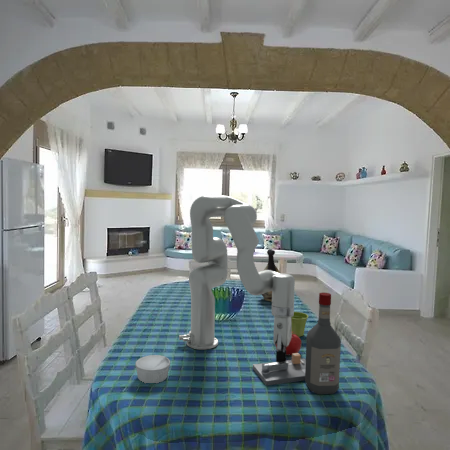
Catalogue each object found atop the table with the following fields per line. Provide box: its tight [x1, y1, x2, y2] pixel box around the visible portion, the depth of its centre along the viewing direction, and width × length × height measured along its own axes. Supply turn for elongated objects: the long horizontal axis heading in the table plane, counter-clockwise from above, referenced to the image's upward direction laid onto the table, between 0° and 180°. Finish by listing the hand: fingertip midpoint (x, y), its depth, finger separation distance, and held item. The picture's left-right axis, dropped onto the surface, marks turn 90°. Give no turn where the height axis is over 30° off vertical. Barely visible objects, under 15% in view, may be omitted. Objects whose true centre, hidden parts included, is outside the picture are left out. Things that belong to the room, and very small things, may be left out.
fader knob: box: [291, 352, 302, 364], centre depth 131 cm, size 2×2×3 cm
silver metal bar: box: [262, 360, 288, 373], centre depth 125 cm, size 9×2×2 cm, turn 107°
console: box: [252, 357, 306, 387], centre depth 127 cm, size 20×12×2 cm, turn 107°
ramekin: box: [135, 354, 171, 384], centre depth 123 cm, size 11×11×5 cm
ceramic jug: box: [261, 248, 282, 302], centre depth 216 cm, size 17×15×30 cm
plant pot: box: [291, 311, 309, 338], centre depth 163 cm, size 9×9×9 cm
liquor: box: [304, 292, 342, 395], centre depth 117 cm, size 9×9×30 cm
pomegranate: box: [274, 332, 302, 356], centre depth 144 cm, size 10×10×9 cm
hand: (281, 361), depth 130 cm, fingers closed
